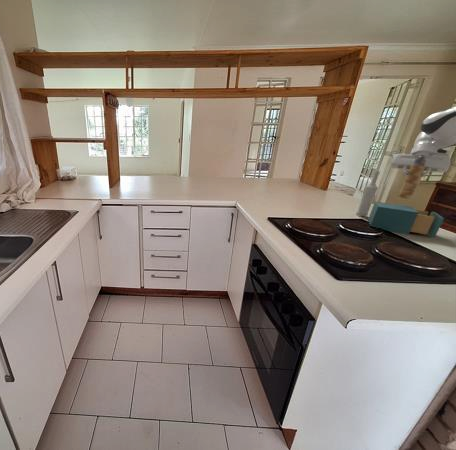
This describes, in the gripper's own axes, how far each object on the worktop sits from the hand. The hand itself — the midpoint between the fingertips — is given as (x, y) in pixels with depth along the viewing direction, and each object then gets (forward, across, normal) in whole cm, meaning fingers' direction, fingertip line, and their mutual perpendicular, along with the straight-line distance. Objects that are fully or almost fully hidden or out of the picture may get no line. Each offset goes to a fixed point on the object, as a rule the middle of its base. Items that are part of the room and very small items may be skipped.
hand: (414, 175), depth 116 cm
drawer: (+26, +7, +8) cm, 28 cm away
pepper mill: (+8, 0, +8) cm, 11 cm away
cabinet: (+28, -2, +7) cm, 29 cm away
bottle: (+17, -14, +18) cm, 29 cm away
